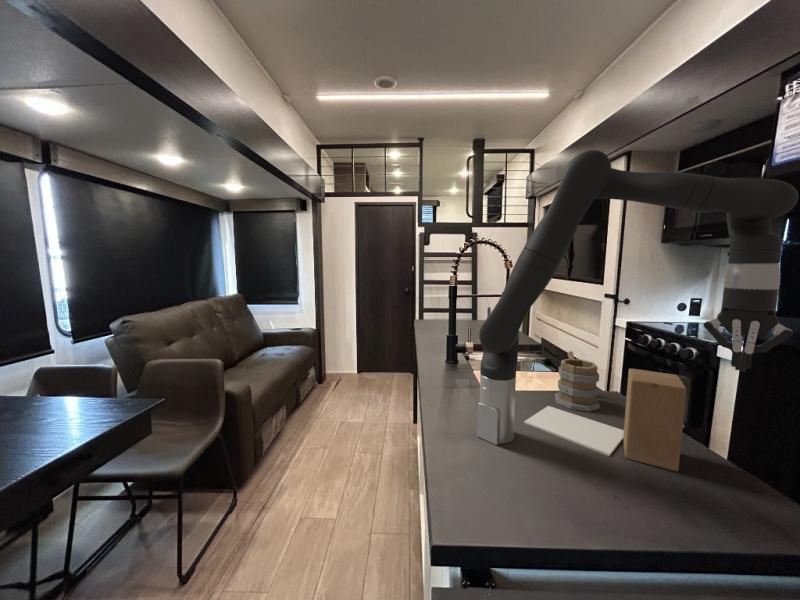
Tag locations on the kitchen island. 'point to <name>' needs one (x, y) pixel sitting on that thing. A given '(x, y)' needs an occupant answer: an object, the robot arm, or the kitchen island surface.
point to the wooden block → (654, 418)
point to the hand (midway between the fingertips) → (740, 369)
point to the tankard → (578, 384)
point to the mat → (577, 429)
